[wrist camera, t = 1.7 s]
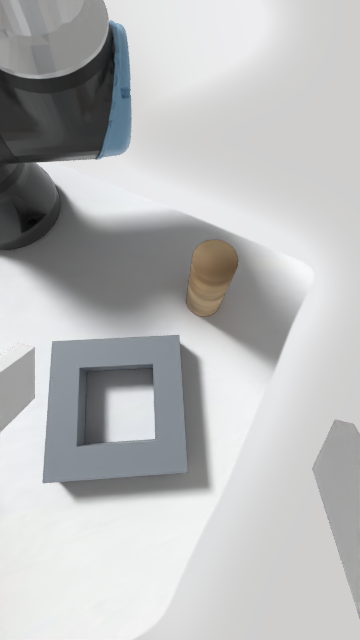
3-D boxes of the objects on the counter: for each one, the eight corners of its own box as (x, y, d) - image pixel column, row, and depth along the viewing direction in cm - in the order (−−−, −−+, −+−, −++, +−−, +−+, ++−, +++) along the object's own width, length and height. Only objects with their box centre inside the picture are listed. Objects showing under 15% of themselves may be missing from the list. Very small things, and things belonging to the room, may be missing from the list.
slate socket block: (61, 347, 41) (52, 341, 38) (178, 341, 42) (179, 335, 39) (54, 477, 37) (42, 483, 33) (186, 467, 37) (187, 472, 34)
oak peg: (185, 285, 45) (190, 240, 34) (218, 283, 45) (235, 238, 34) (187, 317, 43) (194, 281, 32) (221, 315, 44) (240, 279, 32)
